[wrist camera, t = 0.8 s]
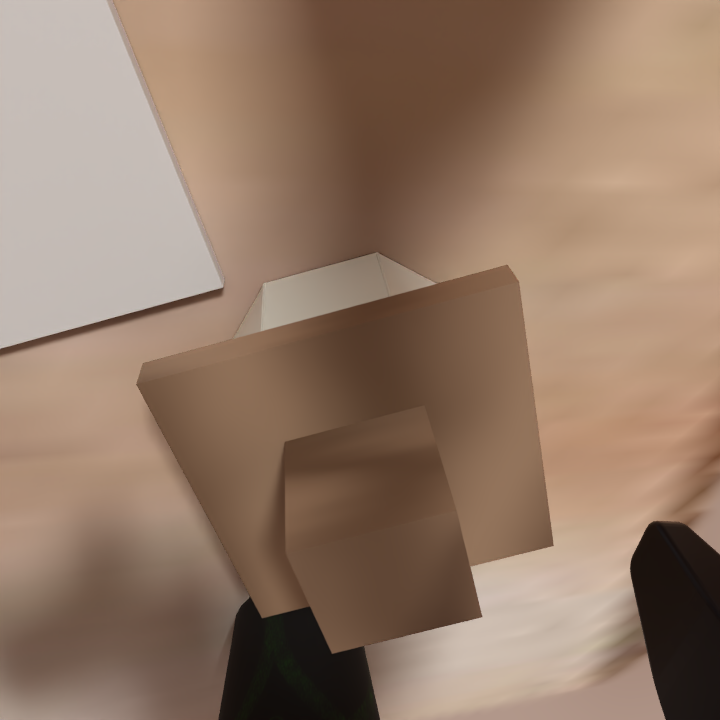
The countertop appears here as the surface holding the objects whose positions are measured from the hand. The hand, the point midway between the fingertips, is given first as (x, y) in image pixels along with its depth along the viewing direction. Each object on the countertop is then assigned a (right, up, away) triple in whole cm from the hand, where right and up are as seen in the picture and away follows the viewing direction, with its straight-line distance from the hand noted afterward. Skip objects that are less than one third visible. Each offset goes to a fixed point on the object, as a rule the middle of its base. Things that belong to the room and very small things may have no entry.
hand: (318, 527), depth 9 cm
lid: (+1, -1, +11) cm, 11 cm away
